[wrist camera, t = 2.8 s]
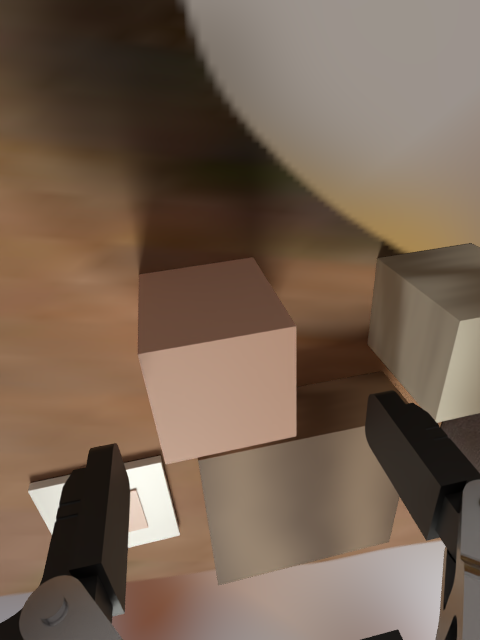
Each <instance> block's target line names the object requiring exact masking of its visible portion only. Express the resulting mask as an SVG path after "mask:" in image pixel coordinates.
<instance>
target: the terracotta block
mask: <svg viewBox="0 0 480 640" xmlns="http://www.w3.org/2000/svg"><path fill="white" fill-rule="evenodd" d="M138 357H139V361H140V365H141V369H142V373H143V377H144V381H145V385H146V389H147V393H148V397H149V401H150V405H151V409H152V413H153V417H154V421H155V424H156V428H157V432H158V436H159V440H160V444H161V448H162V452H163V456H164V460H165V464H170V463H175V462H179V461H184V460H189V459H193V458H198V457H203V456H207V455H212V454H216V453H221V452H226V451H230V450H235V449H240V448H244V447H249V446H254V445H258V444H263V443H267V442H272V441H277V440H281V439H286V438H291V437H295V436H296V325H295V323H294V322H293V320H292V318H291V317H290V315H289V314H288V312H287V310H286V309H285V307H284V306H283V304H282V302H281V301H280V299H279V298H278V296H277V294H276V293H275V291H274V290H273V288H272V286H271V285H270V283H269V282H268V280H267V278H266V277H265V275H264V274H263V272H262V270H261V269H260V267H259V266H258V264H257V262H256V261H255V259H254V258H253V257H251V258H245V259H238V260H232V261H225V262H218V263H212V264H205V265H199V266H192V267H185V268H179V269H172V270H165V271H159V272H152V273H146V274H139V304H138Z"/></svg>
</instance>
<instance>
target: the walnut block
mask: <svg viewBox="0 0 480 640" xmlns="http://www.w3.org/2000/svg"><path fill="white" fill-rule="evenodd" d="M390 390H394V391H395V392H396V393H397V394H398V395H399V396H400V397H401V399H402V400H403V401H404V402H405V404H409V403H408V402H407V401H406V399H405V398H404V397H403V396H402V395H401V393H400V392H399V391H398V390H397V388H396V387H395V386H394V385H393V384H392V382H391V381H390V380H389V379H388V378H387V376H386V375H385V374H384V373H383V372H382V371H380V372H375V373H370V374H364V375H359V376H353V377H348V378H343V379H337V380H332V381H326V382H321V383H316V384H310V385H305V386H299V387H296V436H295V437H291V438H286V439H281V440H277V441H272V442H267V443H263V444H258V445H254V446H249V447H244V448H240V449H235V450H230V451H226V452H221V453H216V454H212V455H207V456H203V457H198V462H199V468H200V475H201V481H202V487H203V493H204V499H205V505H206V512H207V518H208V524H209V530H210V536H211V543H212V549H213V555H214V561H215V567H216V574H217V580H218V585H222V584H226V583H230V582H234V581H238V580H241V579H245V578H249V577H253V576H257V575H261V574H265V573H269V572H273V571H277V570H281V569H285V568H289V567H292V566H296V565H300V564H304V563H308V562H312V561H316V560H320V559H324V558H328V557H332V556H336V555H340V554H344V553H348V552H351V551H355V550H359V549H363V548H367V547H371V546H375V545H379V544H383V543H387V542H389V539H390V535H391V531H392V527H393V522H394V518H395V514H396V509H397V505H398V501H399V497H400V496H399V494H398V493H397V491H396V490H395V488H394V486H393V485H392V483H391V481H390V480H389V478H388V476H387V475H386V473H385V471H384V470H383V468H382V467H381V465H380V463H379V462H378V460H377V458H376V457H375V455H374V453H373V452H372V450H371V448H370V447H369V444H368V442H367V439H366V435H365V422H366V412H367V403H368V397H369V395H370V394H374V393H379V392H385V391H390Z"/></svg>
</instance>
